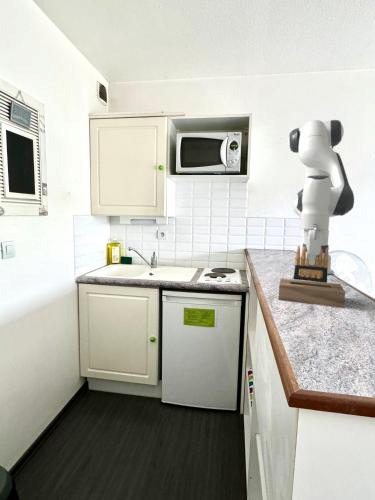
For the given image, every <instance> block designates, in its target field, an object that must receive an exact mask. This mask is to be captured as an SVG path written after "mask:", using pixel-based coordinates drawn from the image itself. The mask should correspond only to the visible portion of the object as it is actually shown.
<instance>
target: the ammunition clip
mask: <svg viewBox="0 0 375 500" xmlns="http://www.w3.org/2000/svg"><path fill="white" fill-rule="evenodd" d="M301 250H302V249H301V248H300V245H297V248H296V253H295V258H294V268H295V270H294V269H293V271H294V273H293V279H292V280H303V281H314V282H325V283H328V274H327V271H328V254H329V250H328V248H327V247H326V249H325V253H324V259H323V258H322V256H323V255H322V254H323V251H322V247H321V252H320V254H319V255H318V260H317V254H316V258H315V264H314V265H310V264H309V254H307V259H306V248H305V246H304V247H303V250H302V251H301ZM301 253H302V256H301V263H300V254H301ZM322 263H323V266H322ZM305 269H306V270H305ZM310 273H311V274H310Z"/></svg>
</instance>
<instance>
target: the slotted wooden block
mask: <svg viewBox="0 0 375 500" xmlns="http://www.w3.org/2000/svg"><path fill="white" fill-rule="evenodd" d="M278 286H279V287H278V300H279V301H286V302H287V301H288V302H295V303H296V302H297V303H304V304H313V305H320V306H321V305H322V306H328V307H330V306H331V307H337V308H338V307H339V308H344V307H345V302H346V301H345V300H346V291H345V290H344V287H343V286H342V284H341V283H333V282H327V283H325V282H315V281H306V280H296V279H292V278H291V279H290V278H280V281H279V285H278Z"/></svg>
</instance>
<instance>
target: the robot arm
mask: <svg viewBox="0 0 375 500" xmlns="http://www.w3.org/2000/svg"><path fill="white" fill-rule="evenodd" d="M344 131H345V130H344V126H343V124H342V122H341V121H340V120H339V119H331V120H329V121H326V120H325V121H322V120H319V119H313V120H309V121H307V122H306V123H305V124H304V125H303V126H302V127H297V128H294V129H292V130H291V131H290V133H289V136H288V140H287V144H288V147H289V149H290V151H291V152H292V153H297V154H298V157H299V158H298V159H299V160H300V162H301V163H302V164H303V167H304V184H303V188H302V189H301V190H299V191H298V192H297V193H296V194H297V197H296V199H295V200H294V201H293V204H292V205H293V211H294V213H295V214H296V215H297V216H298V217H299V218H300V225H299V228H300V229H302V230H303V235H304V236H303V244H302V249H301V250H303V247H304V246H305V248H306V259H307V254H309V264H310V265H314V264H315V258H316V254H317V260H318V255H319V254H320V252H321V247H322V251H323V254H322V255H323V256H322V258H323V259H324V253H325V249H326V247H327V248H328V251H329V249H330V248H329V247H330V246H329V234H330V230H329V229H330V228H329V226H330V218H333V217H338V216H345V215H346V214H348V213H349V212H350V211H352V210H353V208H354V204H355V196H354V191H353V190H352V188H351V186H350V184H349V180H348V176H347V173H346V170H345V167H344V163H343V161H342V160H343V159H342V158H341V155H340V153H338V152H336V151H335V150H333V149H334V147H336V146H337V145H339V144H340V143H341V142H342V139H343V136H344V134H345V133H344ZM301 256H302V252H300V263H301ZM322 266H323V263H322ZM294 270H295V267H294V268H293V271H294ZM305 270H306V269H305ZM331 274H335V271H334V270H333V269H332V257H331V255H330V254H329V253H328V271H327V275H331ZM310 275H311V273H310Z"/></svg>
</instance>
